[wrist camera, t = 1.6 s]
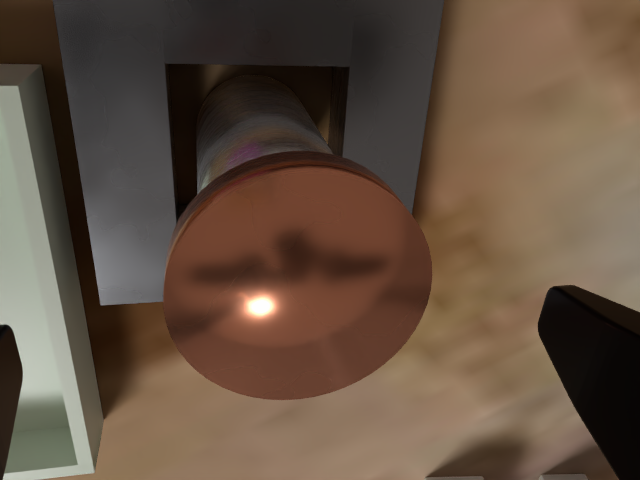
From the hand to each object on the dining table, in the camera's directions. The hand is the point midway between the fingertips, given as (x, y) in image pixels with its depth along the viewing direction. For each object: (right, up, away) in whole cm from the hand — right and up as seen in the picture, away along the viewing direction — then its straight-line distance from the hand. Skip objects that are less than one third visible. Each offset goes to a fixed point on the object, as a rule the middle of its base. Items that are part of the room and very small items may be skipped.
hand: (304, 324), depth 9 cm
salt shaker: (-2, +5, +9) cm, 10 cm away
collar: (-2, +5, +9) cm, 10 cm away
